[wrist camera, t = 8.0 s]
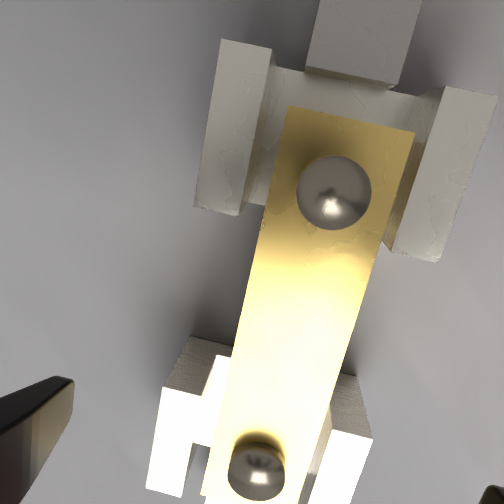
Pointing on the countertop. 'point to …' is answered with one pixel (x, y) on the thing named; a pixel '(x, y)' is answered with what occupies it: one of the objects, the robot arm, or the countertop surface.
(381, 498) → the countertop surface
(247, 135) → the chain ends
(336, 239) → the link
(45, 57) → the countertop surface
